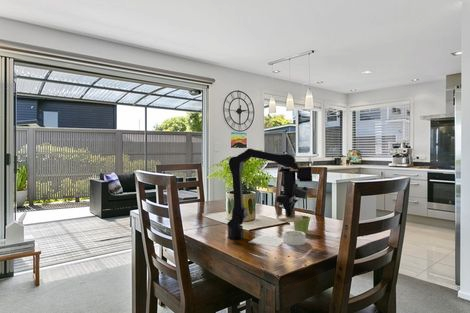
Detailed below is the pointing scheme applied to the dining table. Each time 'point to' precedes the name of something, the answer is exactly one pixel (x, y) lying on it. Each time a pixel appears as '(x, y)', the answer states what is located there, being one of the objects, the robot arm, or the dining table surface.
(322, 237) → the dining table surface
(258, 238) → the mat
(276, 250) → the dining table surface
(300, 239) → the bowl
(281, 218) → the lid
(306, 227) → the plant pot
